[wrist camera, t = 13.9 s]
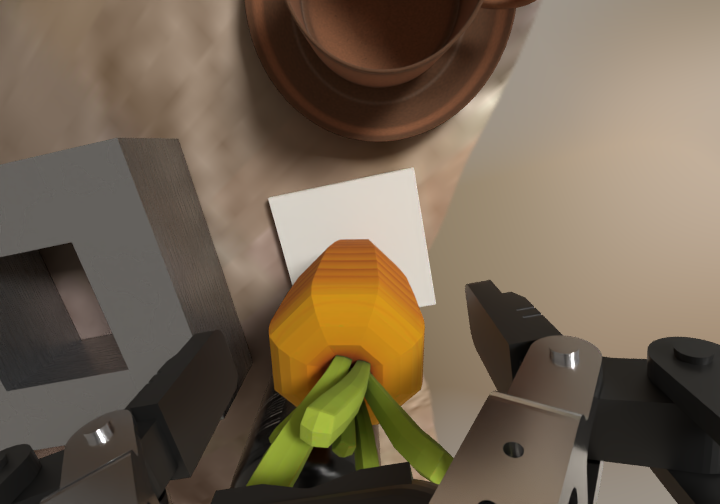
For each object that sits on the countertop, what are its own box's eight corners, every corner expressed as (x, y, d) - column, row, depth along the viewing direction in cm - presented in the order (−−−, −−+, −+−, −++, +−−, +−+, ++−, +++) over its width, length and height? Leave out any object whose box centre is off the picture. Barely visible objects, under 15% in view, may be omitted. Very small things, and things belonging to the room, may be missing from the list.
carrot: (414, 228, 20) (531, 447, 6) (380, 304, 22) (406, 631, 7) (330, 195, 20) (234, 346, 5) (300, 275, 21) (162, 562, 7)
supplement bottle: (291, 437, 25) (228, 685, 14) (257, 352, 23) (152, 558, 12) (388, 416, 25) (408, 658, 13) (362, 328, 23) (357, 520, 11)
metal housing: (-56, 192, 21) (-184, 206, 16) (178, 138, 20) (117, 137, 15) (53, 397, 25) (-23, 459, 20) (253, 362, 24) (223, 419, 19)
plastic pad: (270, 197, 20) (268, 198, 20) (412, 167, 20) (413, 167, 19) (305, 324, 23) (304, 327, 22) (434, 300, 22) (436, 304, 22)
